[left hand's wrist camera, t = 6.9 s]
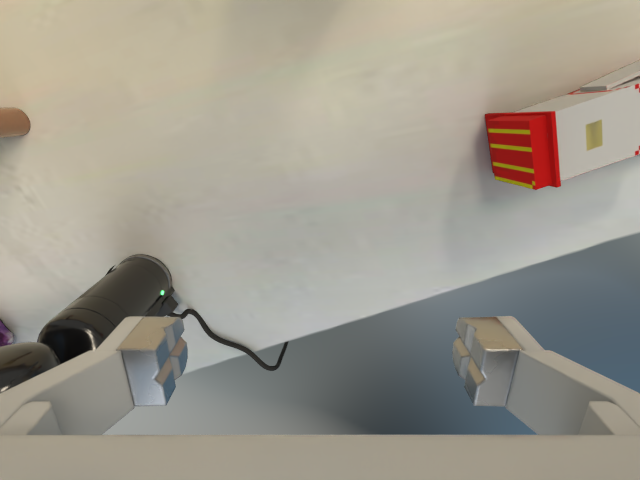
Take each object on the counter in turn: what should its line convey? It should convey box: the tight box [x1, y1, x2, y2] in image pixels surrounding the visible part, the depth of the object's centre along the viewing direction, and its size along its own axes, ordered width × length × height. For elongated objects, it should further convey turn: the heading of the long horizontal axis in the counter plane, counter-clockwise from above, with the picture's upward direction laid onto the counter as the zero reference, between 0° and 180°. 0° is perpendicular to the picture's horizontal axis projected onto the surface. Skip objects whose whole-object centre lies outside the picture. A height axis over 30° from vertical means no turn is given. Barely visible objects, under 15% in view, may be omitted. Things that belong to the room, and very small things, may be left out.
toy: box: [485, 60, 640, 190], centre depth 49 cm, size 12×13×30 cm
